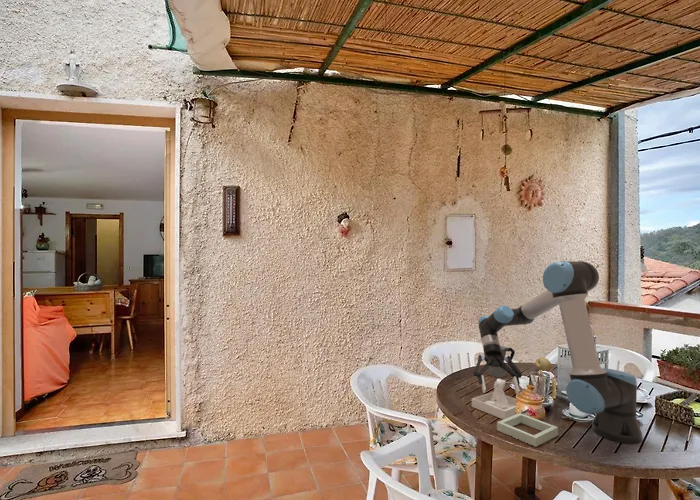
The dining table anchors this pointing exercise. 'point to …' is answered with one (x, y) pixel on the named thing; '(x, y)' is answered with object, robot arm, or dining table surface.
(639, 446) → the dining table surface
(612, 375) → the robot arm
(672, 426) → the dining table surface
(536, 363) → the fruit
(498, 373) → the coffeepot
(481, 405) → the tray
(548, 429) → the holder
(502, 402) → the sitting furry creature
